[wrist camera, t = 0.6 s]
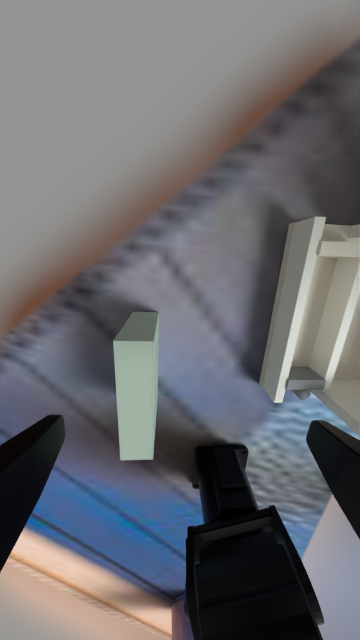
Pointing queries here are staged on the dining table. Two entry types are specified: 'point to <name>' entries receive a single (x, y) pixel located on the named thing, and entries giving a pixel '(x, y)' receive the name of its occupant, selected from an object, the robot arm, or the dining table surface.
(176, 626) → the beverage can
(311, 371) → the cabinet
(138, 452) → the door
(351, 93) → the dining table surface
